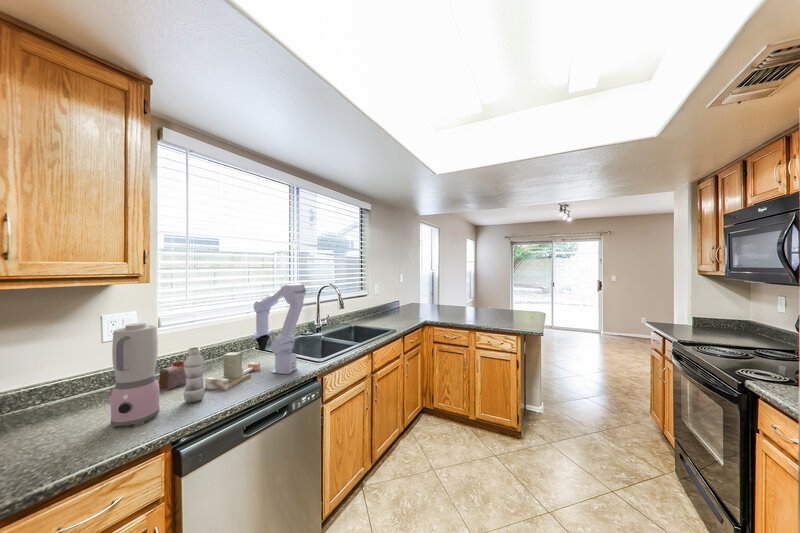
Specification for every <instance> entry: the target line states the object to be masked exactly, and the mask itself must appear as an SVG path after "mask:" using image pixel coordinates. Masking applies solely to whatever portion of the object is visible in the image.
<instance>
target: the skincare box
mask: <svg viewBox="0 0 800 533" xmlns="http://www.w3.org/2000/svg"><path fill="white" fill-rule="evenodd" d="M222 358H223V359H222V363H223V364H222V366H223V376H224V379H229V383H231V382H233V381H235V380H237V379H239V378H241V377H242V368H243V364H242V363H243V362H242V361H243V359H242V352H241V351H239V352H238V351H237V352H235V351H233V352H227V353H225V354H223V356H222Z"/></svg>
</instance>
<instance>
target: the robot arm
mask: <svg viewBox="0 0 800 533" xmlns="http://www.w3.org/2000/svg"><path fill="white" fill-rule="evenodd" d="M306 293H307V290H306V286H305V285H304V284H303V283H302V282H300V283H289V284H288V283H285V284H283V285H281V286H280V288H279V289H278V290H277V291H276V292H275V293H268V294H267V295H266V297H263V298H261V300H257V301H255V302H254V303H253V310H254V312H255V320H256V321H255V323H256V324H255V325H256V329H255V330H256V331H255V332H254V333H253V334H252V335H251V336H250V340H256V342H257V345H258V348H259V351H263V352H264V351H266V347H267V344H268V341H269V339H270V337H271V336H270V334H273V332H274V330H273V329H269V315H270V311H271V309H272V307H274V306H275V305H276V304H278V301H279V300H280V299H282V298H284V300H285V301H286V303H287V305H289V308H288V311H287V314H286V317H285V319H284V322H283V326H282V328H281V331H280V333H279V334H278V335H277V336H276V337H274V340H273V341H272V342H271V344H270V349H271V352H272V353H273V355H274V369H273V370H272V371H271V374H285V375H289V374H291V373H293V372H294V371H296V370H297V369H298V367H297V355H296V353H295V352H293V349H294V347H295V341H296V338H295V336H294V335H293V334H294V331H295V329H296V326H297V323H298V320H299V317H300V315H301V312H302V309H303V306H304V301H305V300H304V299H305V296H306Z"/></svg>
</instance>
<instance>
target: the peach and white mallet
mask: <svg viewBox="0 0 800 533" xmlns="http://www.w3.org/2000/svg"><path fill="white" fill-rule="evenodd" d="M259 370H261V362H254V361H252V362H249V363H247V369H244V367H242V377H243V376H245V375H246V374H248V373H249V372H251V371H255V372H257V371H259Z"/></svg>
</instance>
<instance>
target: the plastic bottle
mask: <svg viewBox="0 0 800 533" xmlns="http://www.w3.org/2000/svg"><path fill="white" fill-rule="evenodd" d="M187 351H188V352H187V355H188V356H187V357H186V358H185V360H184V361H183V362H184V370H185V377H186V384H185V385H184V392H183V399H184V400H183V401H185V402H186V403H189V404H190V403H196V402H199V401H202V400H203V398H204V397H205V386H204V381H203V379H204V378H203V376H204V375H203V373H204V365H205V360H204V358H203V356H202V355H201V347H198V346H196V347H190V348H188V349H187Z"/></svg>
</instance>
